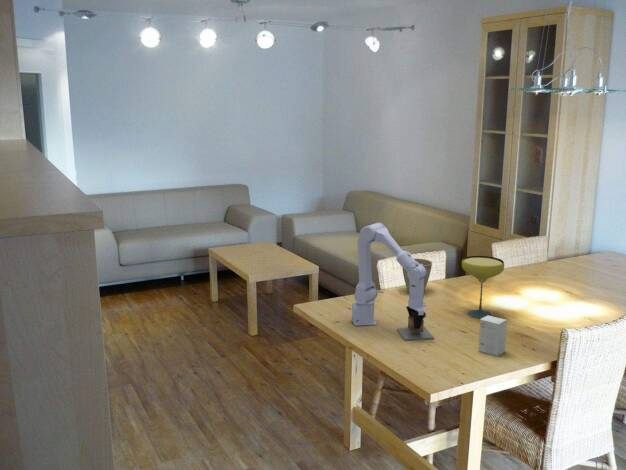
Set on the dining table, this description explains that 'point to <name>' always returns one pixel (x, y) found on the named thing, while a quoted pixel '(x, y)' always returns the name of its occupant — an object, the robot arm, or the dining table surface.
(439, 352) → the dining table surface
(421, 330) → the walnut cube
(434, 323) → the dining table surface
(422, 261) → the plant pot
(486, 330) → the small box
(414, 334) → the coaster
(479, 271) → the cocktail glass
